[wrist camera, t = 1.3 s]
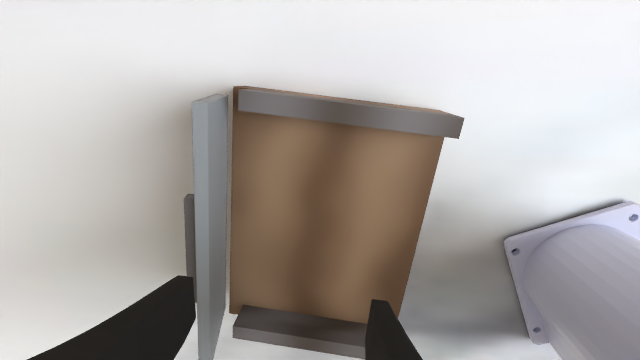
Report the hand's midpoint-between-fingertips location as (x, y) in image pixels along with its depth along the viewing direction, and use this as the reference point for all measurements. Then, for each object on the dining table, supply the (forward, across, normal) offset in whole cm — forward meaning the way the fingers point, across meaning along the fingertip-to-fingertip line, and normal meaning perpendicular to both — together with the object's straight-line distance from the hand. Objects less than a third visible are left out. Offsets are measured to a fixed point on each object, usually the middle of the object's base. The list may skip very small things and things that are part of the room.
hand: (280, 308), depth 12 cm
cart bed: (+9, -1, 0) cm, 9 cm away
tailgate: (+8, +5, 0) cm, 9 cm away
